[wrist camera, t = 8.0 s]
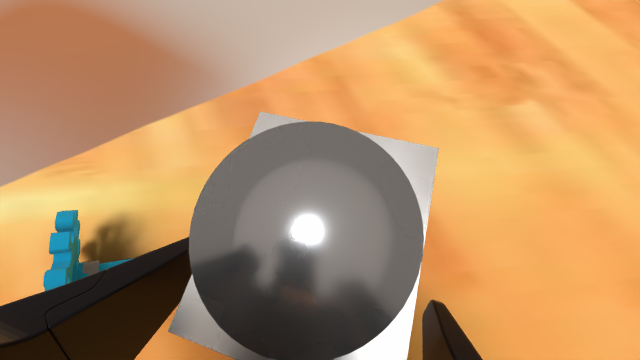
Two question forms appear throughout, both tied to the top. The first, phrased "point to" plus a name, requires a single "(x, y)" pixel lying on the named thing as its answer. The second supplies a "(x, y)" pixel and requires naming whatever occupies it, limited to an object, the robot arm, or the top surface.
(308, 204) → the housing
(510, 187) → the top surface
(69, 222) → the gear
